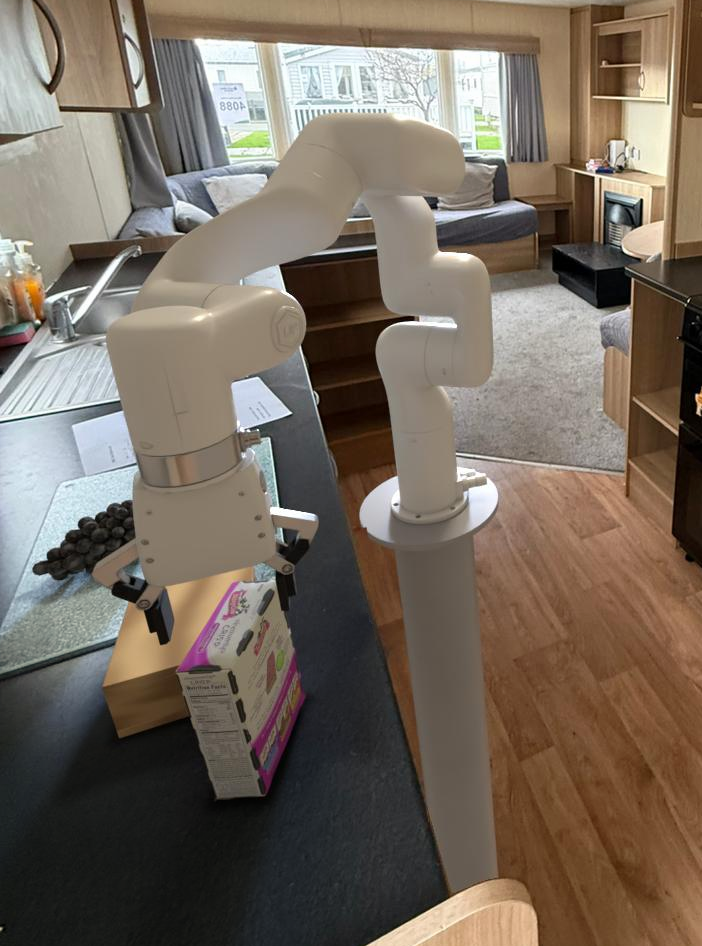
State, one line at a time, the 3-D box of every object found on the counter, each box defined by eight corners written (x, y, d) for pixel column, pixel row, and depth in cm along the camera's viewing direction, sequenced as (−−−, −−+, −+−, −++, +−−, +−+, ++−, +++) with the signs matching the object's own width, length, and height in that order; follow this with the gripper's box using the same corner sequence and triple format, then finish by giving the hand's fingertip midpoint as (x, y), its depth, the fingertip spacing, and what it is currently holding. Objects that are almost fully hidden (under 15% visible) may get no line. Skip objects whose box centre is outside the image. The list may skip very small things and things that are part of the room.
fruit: (15, 539, 82) (154, 495, 91) (24, 526, 89) (153, 486, 98) (36, 602, 83) (172, 552, 92) (43, 585, 90) (169, 540, 99)
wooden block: (263, 609, 84) (253, 564, 81) (259, 694, 72) (248, 645, 69) (144, 641, 79) (130, 595, 76) (119, 738, 67) (101, 687, 64)
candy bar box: (259, 700, 71) (231, 579, 65) (306, 697, 71) (282, 576, 66) (210, 804, 61) (171, 670, 55) (266, 799, 61) (233, 667, 55)
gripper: (303, 417, 61) (327, 567, 67) (77, 454, 54) (125, 618, 60) (305, 453, 54) (331, 616, 60) (49, 501, 48) (106, 679, 53)
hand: (228, 617), depth 60 cm, fingers open, 9 cm apart
